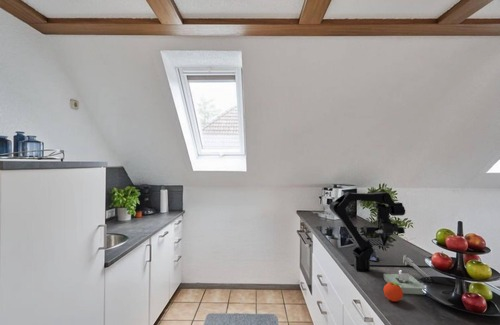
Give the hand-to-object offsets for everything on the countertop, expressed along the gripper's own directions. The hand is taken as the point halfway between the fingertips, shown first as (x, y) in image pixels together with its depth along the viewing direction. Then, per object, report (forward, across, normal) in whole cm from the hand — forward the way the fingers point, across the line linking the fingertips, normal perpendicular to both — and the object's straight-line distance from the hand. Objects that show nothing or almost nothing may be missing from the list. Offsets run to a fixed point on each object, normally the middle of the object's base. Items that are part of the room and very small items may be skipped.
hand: (383, 245), depth 137 cm
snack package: (+13, -2, +15) cm, 20 cm away
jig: (+12, +1, -20) cm, 23 cm away
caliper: (+12, +15, -2) cm, 19 cm away
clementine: (+12, -8, -33) cm, 36 cm away
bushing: (+12, +1, -20) cm, 23 cm away
